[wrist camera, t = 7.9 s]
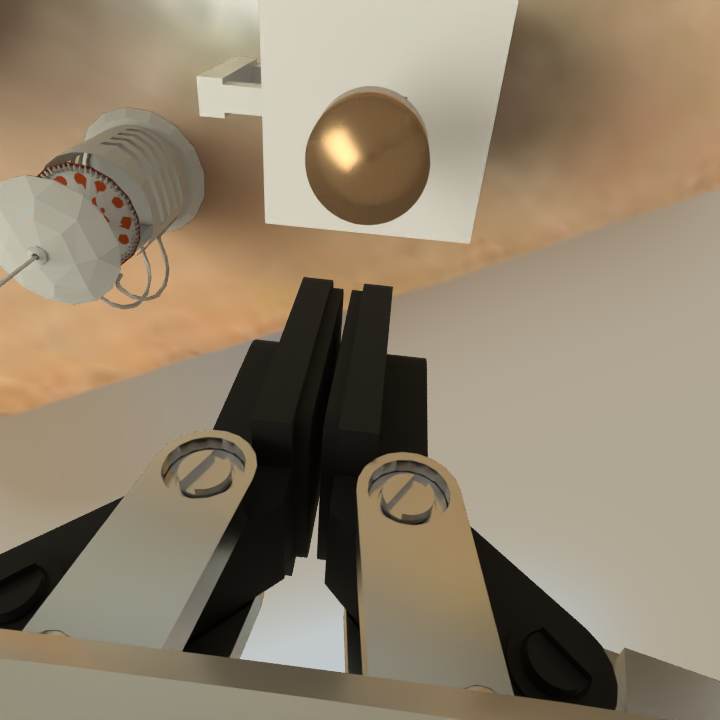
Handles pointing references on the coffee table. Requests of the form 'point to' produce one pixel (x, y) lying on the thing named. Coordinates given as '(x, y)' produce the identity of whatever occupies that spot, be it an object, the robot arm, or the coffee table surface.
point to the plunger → (368, 156)
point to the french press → (99, 208)
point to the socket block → (372, 68)
